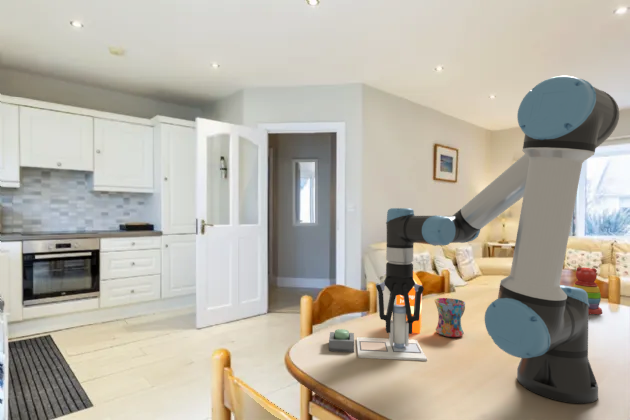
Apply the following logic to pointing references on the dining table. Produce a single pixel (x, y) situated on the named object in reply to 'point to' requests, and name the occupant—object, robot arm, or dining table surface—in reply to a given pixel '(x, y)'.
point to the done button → (342, 334)
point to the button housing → (341, 343)
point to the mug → (450, 316)
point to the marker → (399, 326)
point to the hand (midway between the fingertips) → (398, 344)
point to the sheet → (388, 349)
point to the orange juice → (412, 305)
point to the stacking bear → (589, 288)
